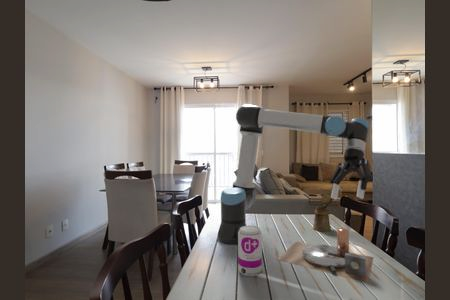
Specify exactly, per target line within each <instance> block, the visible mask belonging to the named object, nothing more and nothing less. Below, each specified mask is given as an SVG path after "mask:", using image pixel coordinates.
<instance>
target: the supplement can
mask: <svg viewBox="0 0 450 300" xmlns="http://www.w3.org/2000/svg"><path fill="white" fill-rule="evenodd" d="M262 243H263V235H262V230H261V229H260V227H259V226H256V225H247V226H243V227H241V228H240V230H239V232H238V244H237V250H238V251H237V253H238V254H237V255H238V256H237V258H238V259H237V262H238V263H237V265H238V267H237V269H238V272H239V273H240V274H241V275H242V276H244V277H256V276H259V275H260V274H261V273H262V271H263V247H262V246H263V244H262Z"/></svg>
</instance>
